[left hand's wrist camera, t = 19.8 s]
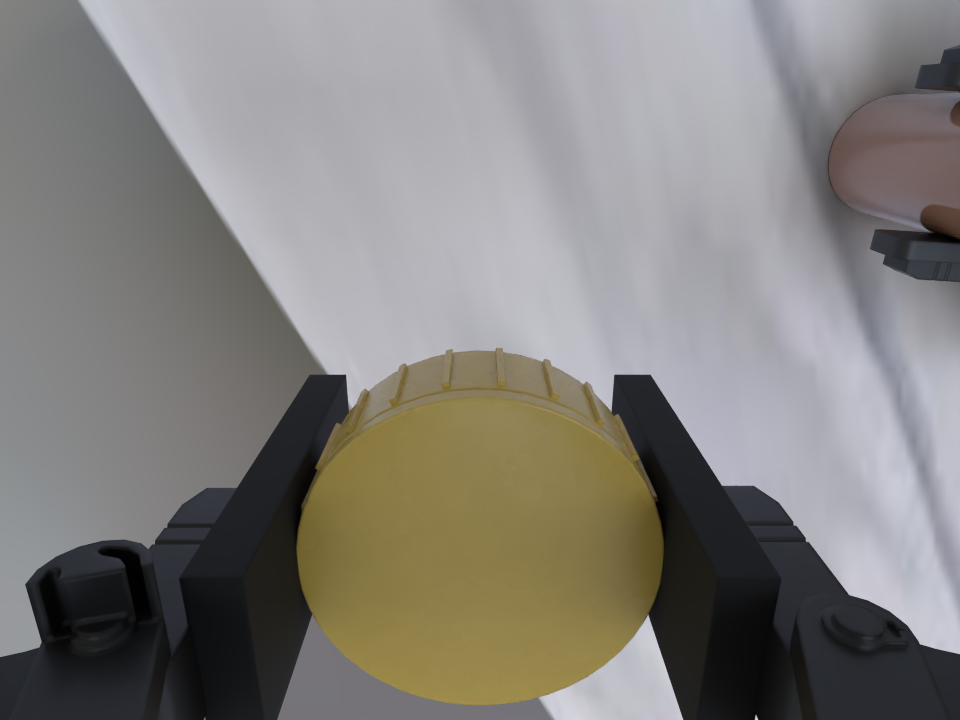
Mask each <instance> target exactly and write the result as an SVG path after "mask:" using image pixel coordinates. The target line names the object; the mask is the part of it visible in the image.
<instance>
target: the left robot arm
mask: <svg viewBox="0 0 960 720" xmlns="http://www.w3.org/2000/svg"><path fill="white" fill-rule="evenodd" d="M348 413H349V409H348V396H347V382H346V375H310V376H309V377H308V379H307V380H306V382H305V383H304V385H303V386H302V388H301V390H300V391H299V393H298V394H297V396H296V397H295V399H294V400H293V402H292V404H291V405H290V407H289V408H288V410H287V411H286V413H285V414H284V416H283V418H282V419H281V421H280V422H279V424H278V425H277V427H276V429H275V430H274V431H273V433H272V435H271V436H270V438H269V439H268V441H267V442H266V444H265V446H264V447H263V449H262V450H261V452H260V453H259V455H258V456H257V458H256V459H255V461H254V463H253V464H252V466H251V467H250V469H249V470H248V472H247V473H246V475H245V477H244V478H243V480H242V481H241V483H240V484H239V486H238V487H237V488H206V489H205V490H203V491H202V492H200V493H199V494H197V495H196V496H194V497H193V498H192V499H190V500H189V501H187V502H186V503H184V504H183V505H182V506H181V507H180V508H179V510H178V511H177V512H176V514H175V515H174V516H173V518H172V519H171V520H170V522H169V523H168V526H167V528H164V530H163V531H162V532H161V533H160V535H159V536H158V537H157V539H156V540H155V545H151V547H150V548H149V549H147V548H146V547H145V546H144V545H142V544H141V543H137V542H132V541H128V540H109V541H100V542H96V543H92V544H88V545H84V546H80V547H77V548H75V549H73V550H70V551H68V552H66V553H64V554H61V555H59V556H57V557H55V558H54V559H52V560H51V561H49V562H48V563H47V564H45V565H44V566H42V567H41V568H39V569H38V570H37V571H36V572H35V573H34V574H33V576H32V577H31V578H30V579H29V580H28V582H27V583H26V584H25V585H26V588H27V592H28V595H29V599H30V603H31V606H32V609H33V613H34V616H35V620H36V623H37V627H38V630H39V634H40V637H41V641H42V643H41V645H40V648H36V649H33V650H30V651H26V652H22V653H17V654H13V655H8V656H4V657H0V720H204V718H206V720H277V718H278V715H279V712H280V709H281V706H282V703H283V700H284V697H285V694H286V691H287V688H288V685H289V682H290V679H291V676H292V673H293V670H294V667H295V664H296V661H297V658H298V655H299V652H300V649H301V646H302V643H303V640H304V637H305V634H306V631H307V628H308V625H309V622H310V619H311V616H312V613H311V611H310V609H309V607H308V604H307V602H306V599H305V596H304V594H303V591H302V588H301V584H300V578H299V571H298V561H297V552H296V542H297V532H298V526H299V522H300V518H301V514H302V511H301V505H302V503H303V501H304V499H305V497H306V494H307V492H308V490H309V488H310V486H311V483H312V481H313V479H314V477H315V474H316V472H317V469H315V467H316V465H317V463H318V461H319V459H320V456H321V454H322V452H323V450H324V448H325V446H326V443H327V441H328V439H329V437H330V435H331V433H332V431H333V428H334V426H335V425H336V423H338V424H340V425H341V424H342V422H343V421H344V419H345V418H346V416H347V414H348ZM612 414H613V416H615V415H617V414H619V416H620V417H621V419H622V421H623V424H624V426H625V428H626V430H627V432H628V435H629V437H630V439H631V441H632V443H633V445H634V448H635V450H636V452H637V453H638V455H639V458H640V460H641V462H642V464H643V466H644V469H645V471H646V473H647V475H648V477H649V479H650V482H651V484H652V486H653V488H654V490H655V493H656V495H657V497H658V501H657V502H655V503H656V506H657V509H658V513H659V516H660V519H661V523H662V529H663V536H664V557H663V566H662V574H661V582H660V586H659V589H658V592H657V595H656V598H655V601H654V603H653V605H652V607H651V609H650V611H649V613H648V615H649V618H650V621H651V624H652V627H653V630H654V633H655V636H656V639H657V642H658V645H659V648H660V651H661V654H662V657H663V660H664V663H665V666H666V669H667V672H668V675H669V678H670V681H671V684H672V687H673V690H674V693H675V696H676V699H677V702H678V705H679V708H680V711H681V714H682V717H683V720H755V716H756V715H757V718H758V720H960V654H956V653H952V652H947V651H943V650H938V649H934V648H931V647H927V646H924V645H920V644H919V642H918V640H917V639H916V637H915V636H914V634H913V633H912V632H911V630H910V629H909V627H908V626H907V625H906V624H905V623H903V622H902V621H901V620H900V619H898V618H897V617H896V616H895V615H893V614H892V613H891V612H890V611H888V610H886V609H884V608H882V607H880V606H878V605H876V604H874V603H872V602H870V601H868V600H864V599H860V598H857V597H853V596H850V595H849V594H848V593H847V592H846V590H845V589H844V588H843V586H842V585H841V584H840V583H839V581H838V580H837V579H836V577H835V576H834V575H833V573H832V572H831V571H830V569H829V568H828V567H827V565H826V564H825V563H824V562H823V560H822V559H821V558H820V556H819V555H818V554H817V552H816V551H815V550H814V548H813V547H812V546H811V544H810V543H809V542H806V538H805V537H804V535H803V534H802V533H801V531H800V530H799V529H798V527H797V526H794V525H793V521H792V520H791V518H790V517H789V516H788V514H787V513H786V512H785V510H784V509H783V508H782V506H781V505H780V504H779V502H777V501H776V500H774V499H773V498H771V497H770V496H768V495H767V494H765V493H764V492H762V491H761V490H759V489H758V488H756V487H755V486H722V485H721V484H720V482H719V481H718V479H717V477H716V476H715V474H714V473H713V471H712V470H711V468H710V467H709V465H708V463H707V462H706V460H705V459H704V457H703V456H702V454H701V453H700V451H699V449H698V448H697V446H696V445H695V443H694V442H693V440H692V439H691V437H690V435H689V434H688V432H687V431H686V429H685V428H684V426H683V425H682V423H681V422H680V420H679V418H678V417H677V415H676V414H675V412H674V411H673V409H672V408H671V406H670V404H669V403H668V401H667V400H666V398H665V397H664V395H663V394H662V392H661V390H660V389H659V387H658V386H657V384H656V383H655V381H654V380H653V378H652V376H651V375H614V388H613V401H612Z"/></svg>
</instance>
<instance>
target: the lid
mask: <svg viewBox="0 0 960 720" xmlns="http://www.w3.org/2000/svg"><path fill="white" fill-rule="evenodd" d="M315 469H317V472H316V474H315V477H314V479H313V481H312V483H311V486H310V488H309V490H308V492H307V494H306V497H305V499H304V501H303V503H302V505H301V511H302V514H301V518H300V522H299V526H298V532H297V542H296V552H297V561H298V571H299V578H300V584H301V588H302V591H303V594H304V596H305V599H306V602H307V604H308V607H309V609H310V611H311V613H312V614H313V616H314V618H315V620H316V621H317V623H318V625H319V626H320V628H321V629H322V630H323V632H324V633H325V634H326V636H327V637H328V638H329V640H330V641H331V642H332V643H333V644H334V645H335V646H336V647H337V648H338V649H339V650H340V651H341V652H342V653H343V654H344V655H345V656H346V657H347V658H348V659H349V660H351V661H352V662H353V663H354V664H356V665H357V666H358V667H360V668H361V669H362V670H364V671H365V672H367V673H369V674H370V675H372V676H373V677H375V678H377V679H378V680H380V681H382V682H384V683H386V684H388V685H391V686H393V687H395V688H397V689H399V690H402V691H405V692H407V693H410V694H413V695H416V696H419V697H423V698H427V699H431V700H435V701H440V702H447V703H454V704H462V705H495V704H508V703H514V702H520V701H526V700H530V699H534V698H537V697H541V696H545V695H548V694H551V693H553V692H556V691H558V690H561V689H564V688H566V687H569V686H570V685H572V684H574V683H576V682H578V681H580V680H582V679H584V678H586V677H588V676H589V675H591V674H592V673H594V672H595V671H596V670H598V669H599V668H601V667H602V666H604V665H605V664H606V663H608V662H609V661H610V660H611V659H612V658H613V657H614V656H616V655H617V654H618V653H619V652H620V651H621V650H622V649H623V648H624V647H625V646H626V645H627V643H628V642H629V641H630V640H631V639H632V638H633V637H634V636H635V634H636V633H637V631H638V630H639V628H640V627H641V625H642V624H643V622H644V621H645V619H646V617H647V615H648V613H649V611H650V609H651V607H652V605H653V603H654V601H655V598H656V595H657V592H658V589H659V586H660V582H661V574H662V566H663V557H664V536H663V529H662V523H661V519H660V516H659V513H658V509H657V506H656V503H655V502H657V501H658V497H657V495H656V493H655V490H654V488H653V486H652V484H651V482H650V479H649V477H648V475H647V473H646V471H645V469H644V466H643V464H642V462H641V460H640V458H639V455H638V453H637V452H636V450H635V448H634V445H633V443H632V441H631V439H630V437H629V435H628V432H627V430H626V428H625V426H624V424H623V421H622V419H621V417H620V416H619V414H617V415H615V416H613V414H612V413H611V411H610V410H609V408H608V407H607V406H606V405H605V404H604V403H603V402H602V401H601V400H600V399H599V398H598V397H597V396H596V395H595V394H594V392H593V389H592V387H591V385H590V384H589V383H588V382H586V383H585V384H584V385H583V384H582V383H581V382H580V381H578V380H576V379H575V378H573V377H571V376H570V375H568V374H567V373H565V372H563V371H562V370H560V369H557V368H555V367H553V366H551V362H550V361H549V360H546V359H544V361H543V362H541V361H538V360H535V359H531V358H528V357H525V356H521V355H516V354H510V353H504V352H503V350H502V348H496V352H495V351H467V352H455V353H453V350H452V349H451V350H446V354H445V355H440V356H436V357H432V358H429V359H426V360H423V361H420V362H417V363H414V364H412V365H410V366H408V367H407V366H406V364H402V365H400V367H399V370H398V371H397V372H395V373H393V374H392V375H390V376H389V377H387V378H386V379H384V380H383V381H381V382H380V383H378V384H377V385H376V386H374V387H373V388H372V389H371V390H370V391H369V392H368V391H367V390H366V389H364V390H363V391H362V392H361V394H360V397H359V399H358V401H357V404H356V405H355V406H354V407H353V408H352V410H351V411H350V412H349V413H348V414H347V416H346V418H345V419H344V421H343V422H342V424H341V425H340V424H338V423H336V425H335V426H334V428H333V431H332V433H331V435H330V437H329V439H328V441H327V443H326V446H325V448H324V450H323V452H322V454H321V456H320V459H319V461H318V463H317V465H316V467H315Z"/></svg>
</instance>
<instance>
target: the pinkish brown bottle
mask: <svg viewBox="0 0 960 720" xmlns="http://www.w3.org/2000/svg"><path fill="white" fill-rule="evenodd" d="M828 167H829V177H830V181H831V184H832V187H833V189H834V191H835V193H836V194H837V196H838V197H839V198H840V199H841V200H842V201H843V202H844V203H845V204H846V205H847V206H849V207H850V208H852V209H854V210H856V211H860V212H863V213H866V214H870V215H873V216H877V217H880V218H884V219H887V220H890V221H894V222H897V223H901V224H904V225H908V226H911V227H915V228H918V229H922V230H925V231H929V232H932V233H936V234H939V235H943V236H946V237H950V238H953V239H957V240H960V93H939V94H897V95H889V96H884V97H881V98H878V99H876V100H873V101H871V102H869V103H867V104H866V105H864V106H863V107H861V108H860V109H858V110H857V111H856V112H855V113H854V114H853V115H852V116H851V117H850V118H849V119H848V120H847V121H846V122H845V123H844V125H843V126H842V127H841V129H840V130H839V132H838V134H837V136H836V138H835V140H834V142H833V145H832V148H831V151H830V156H829V165H828Z"/></svg>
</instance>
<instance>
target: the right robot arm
mask: <svg viewBox="0 0 960 720" xmlns="http://www.w3.org/2000/svg"><path fill="white" fill-rule="evenodd" d="M915 88H920V89H933V90H947V91H960V45H959V46H955V47H952V48H949V49H946V50H944V53H943V56H942V60H941V63H940V64H932V65H922V66H921V67H920V71H919V75H918V78H917V82H916V85H915ZM870 249H871V250H874V251H876V252H879V253H882V254H884V255H885V258H884V261H883V264H884V265H886V266H888V267H890V268H892V269H894V270H896V271H898V272H901V273H903V274H906V275H908V276H911V277H913V278H916V279H922V280H937V281H953V282H960V240H957V239H953V238H950V237H946V236H943V235H939V234H936V233H927V232H912V231H897V230H882V229H877V230H875V232H874V236H873V240H872V243H871V247H870Z"/></svg>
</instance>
